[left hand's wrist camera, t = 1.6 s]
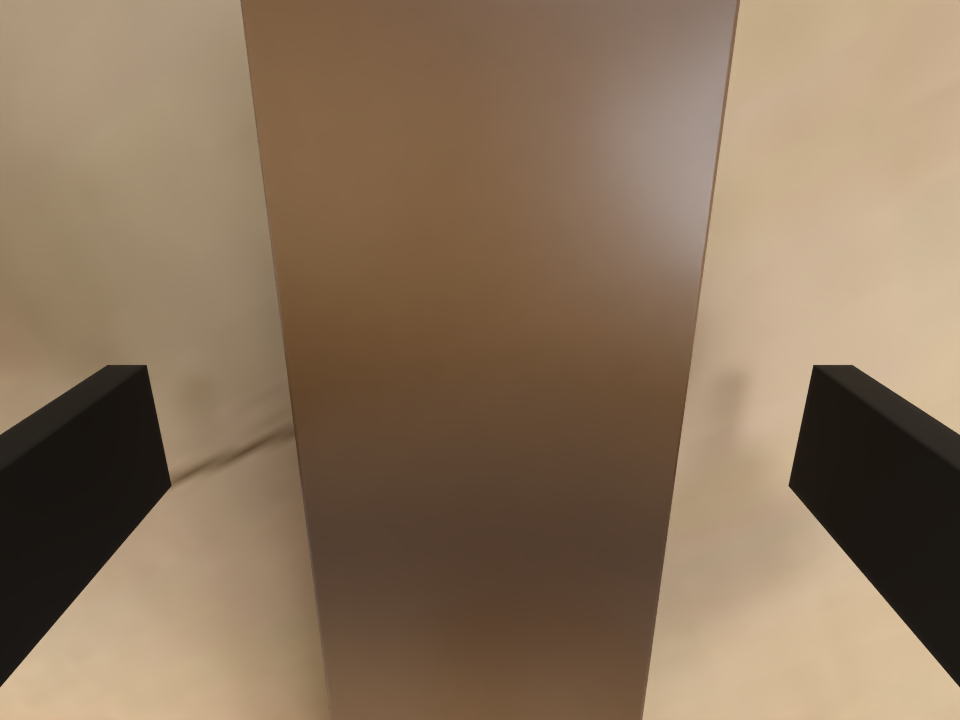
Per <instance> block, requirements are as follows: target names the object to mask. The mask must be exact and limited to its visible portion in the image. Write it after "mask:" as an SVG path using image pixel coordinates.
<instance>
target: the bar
mask: <svg viewBox="0 0 960 720" xmlns="http://www.w3.org/2000/svg"><path fill="white" fill-rule="evenodd" d="M739 4H740V0H241V8H242V16H243V24H244V32H245V40H246V48H247V56H248V64H249V72H250V80H251V88H252V96H253V103H254V111H255V119H256V127H257V135H258V143H259V151H260V159H261V167H262V175H263V183H264V191H265V199H266V207H267V215H268V223H269V231H270V239H271V247H272V255H273V263H274V271H275V279H276V287H277V295H278V303H279V311H280V319H281V327H282V335H283V343H284V351H285V359H286V367H287V374H288V382H289V390H290V398H291V406H292V414H293V422H294V430H295V438H296V446H297V454H298V462H299V470H300V478H301V486H302V494H303V502H304V510H305V518H306V526H307V534H308V542H309V550H310V558H311V566H312V574H313V582H314V590H315V598H316V606H317V614H318V622H319V630H320V638H321V646H322V653H323V661H324V669H325V677H326V685H327V693H328V701H329V709H330V717H331V720H642V717H643V710H644V702H645V695H646V687H647V680H648V673H649V665H650V658H651V651H652V643H653V636H654V629H655V621H656V614H657V607H658V599H659V592H660V585H661V577H662V570H663V563H664V555H665V548H666V541H667V533H668V526H669V519H670V511H671V504H672V497H673V489H674V482H675V474H676V467H677V460H678V452H679V445H680V438H681V430H682V423H683V416H684V408H685V401H686V394H687V386H688V379H689V372H690V364H691V357H692V350H693V342H694V335H695V328H696V320H697V313H698V306H699V298H700V291H701V284H702V276H703V269H704V262H705V254H706V247H707V239H708V232H709V225H710V217H711V210H712V203H713V195H714V188H715V181H716V173H717V166H718V159H719V151H720V144H721V137H722V129H723V122H724V115H725V107H726V100H727V93H728V85H729V78H730V71H731V63H732V56H733V49H734V41H735V34H736V26H737V19H738V12H739Z"/></svg>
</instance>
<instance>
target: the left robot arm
mask: <svg viewBox="0 0 960 720" xmlns="http://www.w3.org/2000/svg"><path fill="white" fill-rule="evenodd" d="M170 487H171V481H170V476H169V472H168V467H167V462H166V457H165V452H164V447H163V443H162V438H161V433H160V428H159V423H158V418H157V414H156V409H155V404H154V399H153V394H152V389H151V384H150V380H149V375H148V370H147V365H107V366H105V367H104V368H102V369H101V370H99V371H98V372H96V373H95V374H93V375H92V376H90V377H89V378H87V379H85V380H84V381H82V382H81V383H79V384H78V385H76V386H75V387H73V388H72V389H70V390H69V391H67V392H65V393H64V394H62V395H61V396H59V397H58V398H56V399H55V400H53V401H52V402H50V403H49V404H47V405H45V406H44V407H42V408H41V409H39V410H38V411H36V412H35V413H33V414H32V415H30V416H29V417H27V418H26V419H24V420H22V421H21V422H19V423H18V424H16V425H15V426H13V427H12V428H10V429H9V430H7V431H6V432H4V433H2V434H1V435H0V687H1V686H2V685H3V683H4V682H5V681H6V680H7V679H8V677H9V676H10V675H11V674H12V673H13V672H14V670H15V669H16V668H17V667H18V666H19V665H20V663H21V662H22V661H23V660H24V659H25V657H26V656H27V655H28V654H29V653H30V652H31V650H32V649H33V648H34V647H35V646H36V645H37V643H38V642H39V641H40V640H41V639H42V637H43V636H44V635H45V634H46V633H47V632H48V630H49V629H50V628H51V627H52V626H53V625H54V623H55V622H56V621H57V620H58V619H59V617H60V616H61V615H62V614H63V613H64V612H65V610H66V609H67V608H68V607H69V606H70V605H71V603H72V602H73V601H74V600H75V599H76V597H77V596H78V595H79V594H80V593H81V592H82V590H83V589H84V588H85V587H86V586H87V585H88V583H89V582H90V581H91V580H92V579H93V577H94V576H95V575H96V574H97V573H98V572H99V570H100V569H101V568H102V567H103V566H104V565H105V563H106V562H107V561H108V560H109V559H110V557H111V556H112V555H113V554H114V553H115V552H116V550H117V549H118V548H119V547H120V546H121V545H122V543H123V542H124V541H125V540H126V539H127V537H128V536H129V535H130V534H131V533H132V532H133V530H134V529H135V528H136V527H137V526H138V525H139V523H140V522H141V521H142V520H143V519H144V517H145V516H146V515H147V514H148V513H149V512H150V510H151V509H152V508H153V507H154V506H155V505H156V503H157V502H158V501H159V500H160V499H161V497H162V496H163V495H164V494H165V493H166V492H167V490H168V489H169V488H170ZM789 487H790V488H791V489H792V490H793V492H794V493H795V494H796V495H797V496H798V498H799V499H800V500H801V501H802V502H803V503H804V505H805V506H806V507H807V508H808V509H809V510H810V512H811V513H812V514H813V515H814V516H815V518H816V519H817V520H818V521H819V522H820V523H821V525H822V526H823V527H824V528H825V529H826V530H827V532H828V533H829V534H830V535H831V536H832V537H833V539H834V540H835V541H836V542H837V543H838V545H839V546H840V547H841V548H842V549H843V550H844V552H845V553H846V554H847V555H848V556H849V557H850V559H851V560H852V561H853V562H854V563H855V565H856V566H857V567H858V568H859V569H860V570H861V572H862V573H863V574H864V575H865V576H866V577H867V579H868V580H869V581H870V582H871V583H872V585H873V586H874V587H875V588H876V589H877V590H878V592H879V593H880V594H881V595H882V596H883V597H884V599H885V600H886V601H887V602H888V603H889V605H890V606H891V607H892V608H893V609H894V610H895V612H896V613H897V614H898V615H899V616H900V617H901V619H902V620H903V621H904V622H905V623H906V625H907V626H908V627H909V628H910V629H911V630H912V632H913V633H914V634H915V635H916V636H917V637H918V639H919V640H920V641H921V642H922V643H923V645H924V646H925V647H926V648H927V649H928V650H929V652H930V653H931V654H932V655H933V656H934V657H935V659H936V660H937V661H938V662H939V663H940V665H941V666H942V667H943V668H944V669H945V670H946V672H947V673H948V674H949V675H950V676H951V677H952V679H953V680H954V681H955V682H956V683H957V685H958V686H959V687H960V435H959V434H958V433H956V432H954V431H953V430H951V429H950V428H948V427H947V426H945V425H944V424H942V423H941V422H939V421H938V420H936V419H934V418H933V417H931V416H930V415H928V414H927V413H925V412H924V411H922V410H921V409H919V408H918V407H916V406H915V405H913V404H911V403H910V402H908V401H907V400H905V399H904V398H902V397H901V396H899V395H898V394H896V393H895V392H893V391H891V390H890V389H888V388H887V387H885V386H884V385H882V384H881V383H879V382H878V381H876V380H875V379H873V378H871V377H870V376H868V375H867V374H865V373H864V372H862V371H861V370H859V369H858V368H856V367H855V366H853V365H813V370H812V375H811V380H810V384H809V389H808V394H807V399H806V404H805V409H804V414H803V418H802V423H801V428H800V433H799V438H798V443H797V447H796V452H795V457H794V462H793V467H792V472H791V476H790V481H789Z"/></svg>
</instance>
